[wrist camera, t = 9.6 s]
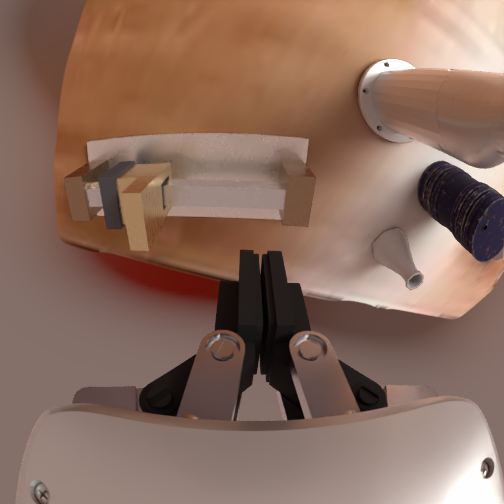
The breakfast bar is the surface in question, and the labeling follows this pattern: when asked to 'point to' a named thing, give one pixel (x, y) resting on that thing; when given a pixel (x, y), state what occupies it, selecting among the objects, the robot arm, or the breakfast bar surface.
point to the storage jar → (464, 208)
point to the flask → (397, 256)
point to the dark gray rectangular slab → (112, 194)
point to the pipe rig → (207, 174)
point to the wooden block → (143, 202)
